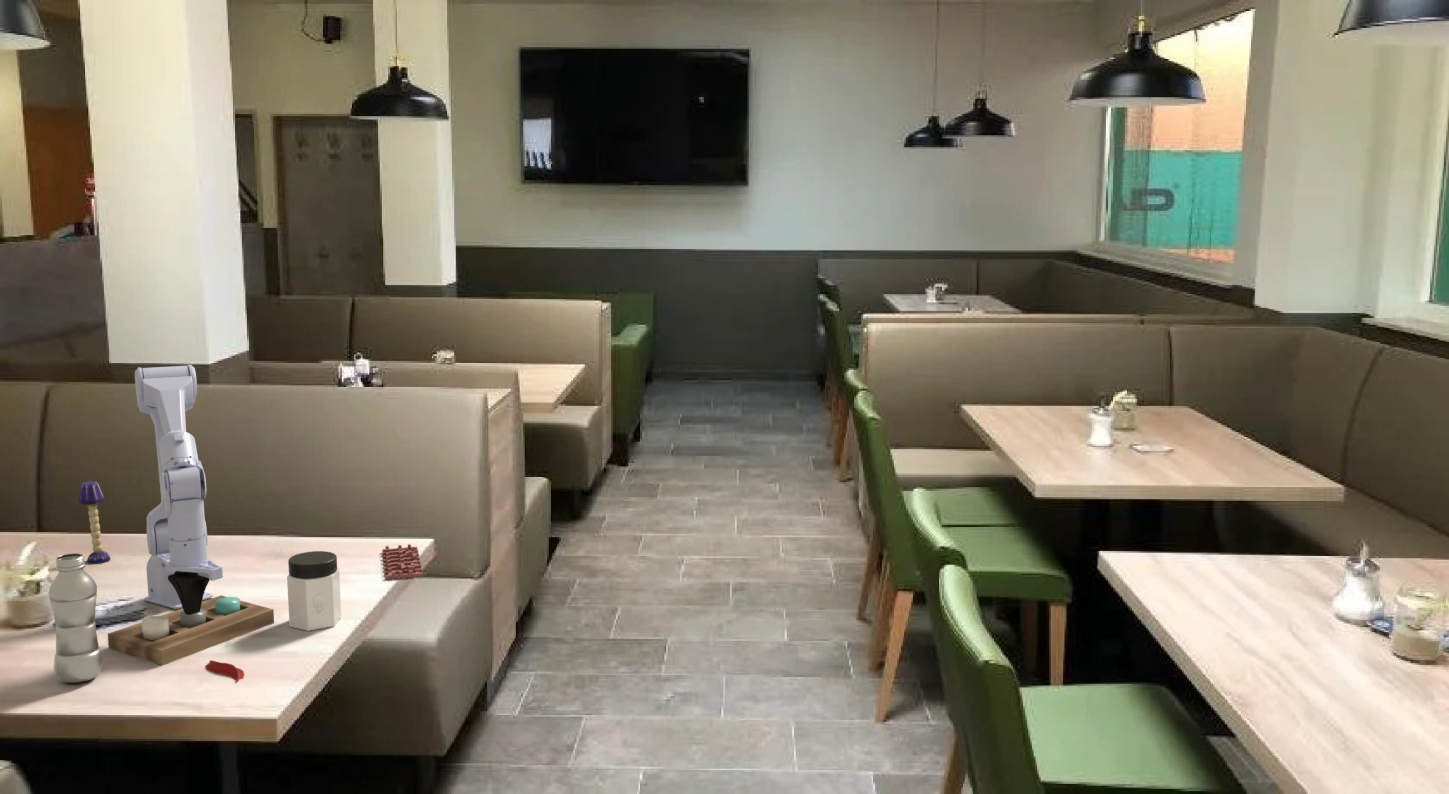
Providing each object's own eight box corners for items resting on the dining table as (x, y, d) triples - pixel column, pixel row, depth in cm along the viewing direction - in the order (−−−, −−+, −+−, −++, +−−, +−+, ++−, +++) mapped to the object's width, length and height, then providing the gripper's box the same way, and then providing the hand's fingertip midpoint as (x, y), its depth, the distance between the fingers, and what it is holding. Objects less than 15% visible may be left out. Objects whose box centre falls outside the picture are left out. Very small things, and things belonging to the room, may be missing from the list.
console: (108, 648, 193) (107, 633, 193) (221, 608, 212) (220, 595, 212) (162, 665, 187) (161, 650, 186) (274, 622, 206) (273, 609, 205)
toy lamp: (93, 565, 235) (87, 486, 232) (78, 562, 237) (71, 483, 234) (115, 559, 239) (108, 481, 236) (100, 556, 241) (93, 478, 238)
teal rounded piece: (211, 617, 204) (210, 602, 204) (230, 610, 208) (229, 595, 207) (226, 621, 203) (225, 606, 202) (245, 614, 206) (244, 599, 206)
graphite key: (175, 629, 198) (174, 614, 198) (196, 622, 202) (195, 607, 201) (190, 634, 197) (189, 618, 196) (211, 626, 200) (210, 611, 199)
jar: (295, 634, 200) (291, 568, 198) (284, 620, 207) (280, 555, 205) (347, 624, 205) (344, 560, 203) (335, 610, 212) (332, 548, 210)
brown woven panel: (385, 583, 229) (385, 574, 228) (382, 555, 246) (382, 546, 246) (423, 580, 231) (422, 571, 230) (417, 552, 249) (417, 543, 248)
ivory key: (137, 637, 192) (136, 621, 192) (159, 629, 196) (158, 614, 195) (152, 642, 190) (151, 626, 190) (174, 634, 194) (173, 618, 193)
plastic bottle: (67, 671, 184) (56, 550, 180) (111, 670, 184) (101, 550, 181) (47, 688, 177) (35, 563, 174) (93, 687, 178) (82, 563, 174)
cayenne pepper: (249, 684, 181) (249, 672, 181) (218, 690, 179) (217, 679, 178) (232, 658, 191) (232, 647, 191) (202, 664, 188) (202, 653, 188)
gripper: (138, 535, 196) (144, 612, 199) (194, 549, 189) (199, 628, 192) (175, 525, 202) (180, 599, 205) (231, 538, 196) (235, 615, 198)
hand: (192, 612), depth 199 cm, fingers closed, pressing on graphite key
